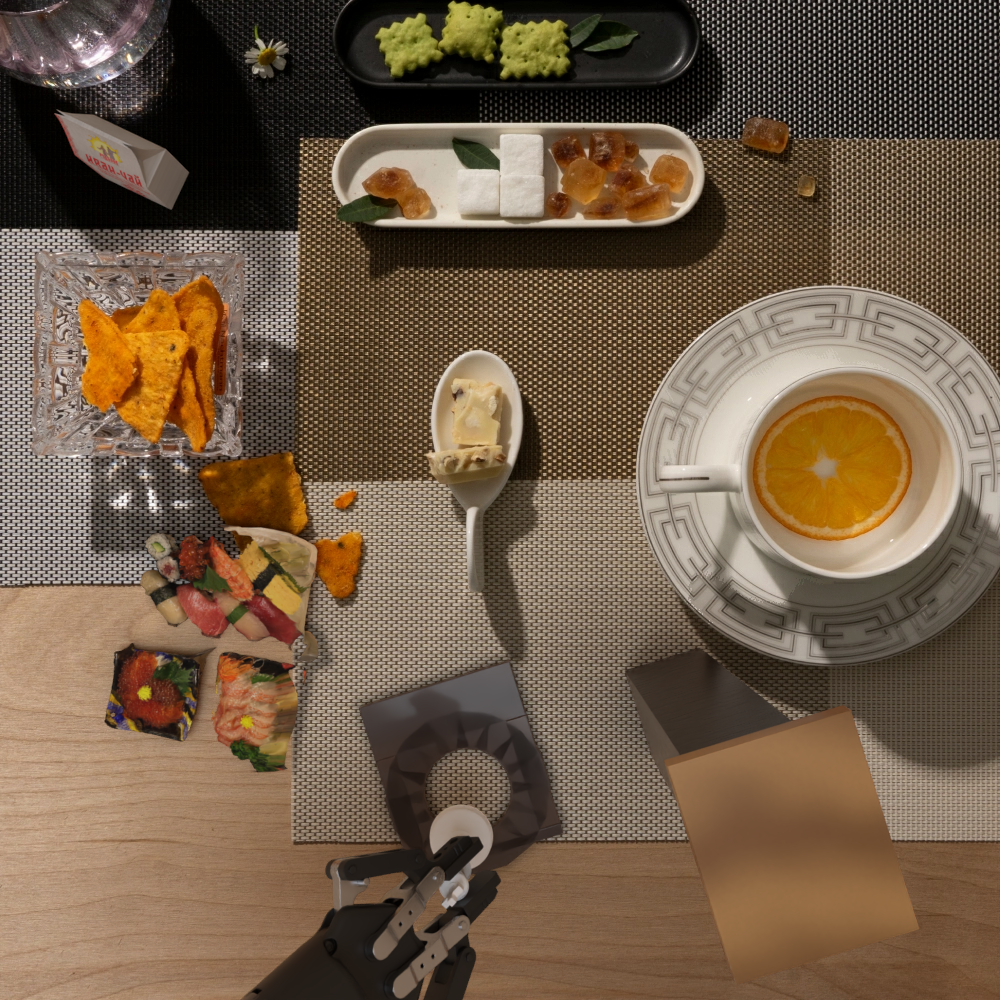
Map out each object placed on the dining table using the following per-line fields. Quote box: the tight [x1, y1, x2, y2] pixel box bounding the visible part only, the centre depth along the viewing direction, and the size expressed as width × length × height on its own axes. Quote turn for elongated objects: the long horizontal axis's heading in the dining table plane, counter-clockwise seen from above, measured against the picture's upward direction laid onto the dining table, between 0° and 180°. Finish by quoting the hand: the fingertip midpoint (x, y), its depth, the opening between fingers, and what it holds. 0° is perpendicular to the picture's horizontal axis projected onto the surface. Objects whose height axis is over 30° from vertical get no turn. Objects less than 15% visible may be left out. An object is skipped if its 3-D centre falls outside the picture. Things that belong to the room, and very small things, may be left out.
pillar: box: [624, 647, 792, 803], centre depth 56 cm, size 8×7×29 cm
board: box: [358, 659, 564, 875], centre depth 70 cm, size 17×14×2 cm
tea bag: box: [53, 108, 190, 210], centre depth 66 cm, size 4×7×10 cm, turn 64°
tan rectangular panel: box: [664, 704, 920, 986], centre depth 41 cm, size 12×10×1 cm
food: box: [103, 524, 319, 773], centre depth 69 cm, size 22×19×4 cm
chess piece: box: [430, 804, 493, 910], centre depth 56 cm, size 5×5×10 cm
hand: (482, 858), depth 55 cm, fingers closed on chess piece
